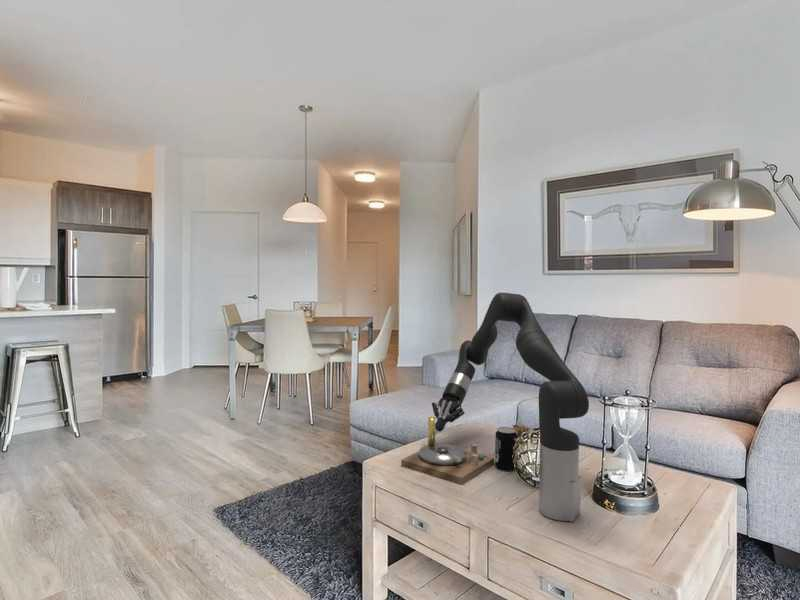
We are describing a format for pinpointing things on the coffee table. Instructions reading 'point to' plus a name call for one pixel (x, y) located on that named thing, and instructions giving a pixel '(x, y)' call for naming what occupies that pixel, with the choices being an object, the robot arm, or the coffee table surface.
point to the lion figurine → (519, 429)
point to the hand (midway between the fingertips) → (437, 430)
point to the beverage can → (505, 448)
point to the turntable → (452, 466)
